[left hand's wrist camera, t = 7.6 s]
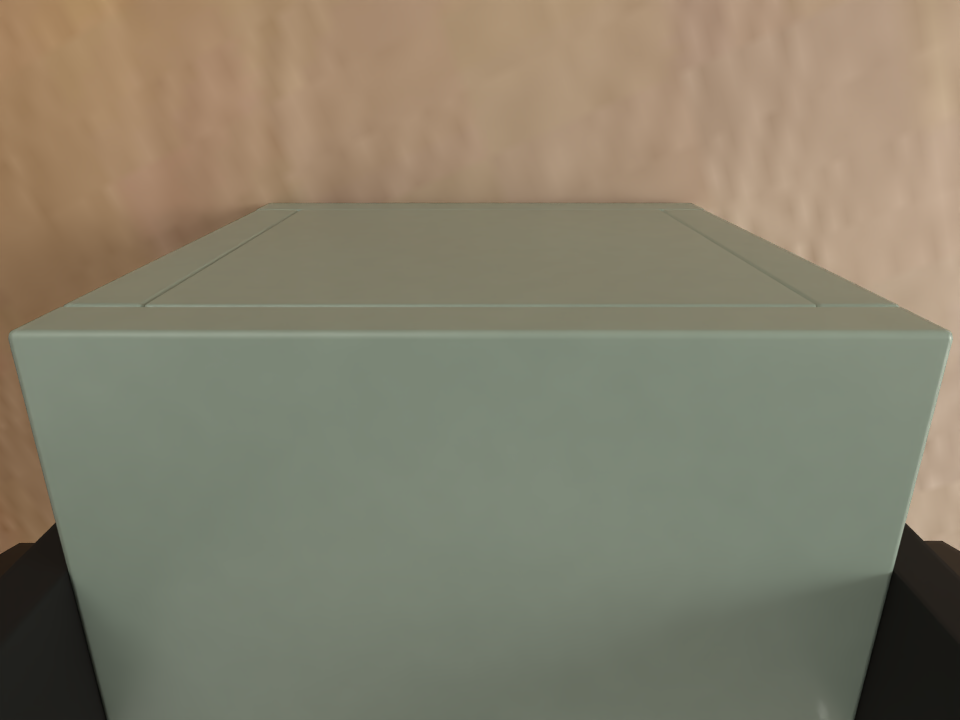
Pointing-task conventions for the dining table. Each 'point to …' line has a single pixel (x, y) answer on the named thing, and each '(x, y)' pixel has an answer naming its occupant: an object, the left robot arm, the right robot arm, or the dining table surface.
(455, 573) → the cabinet
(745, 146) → the dining table surface
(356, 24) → the dining table surface
